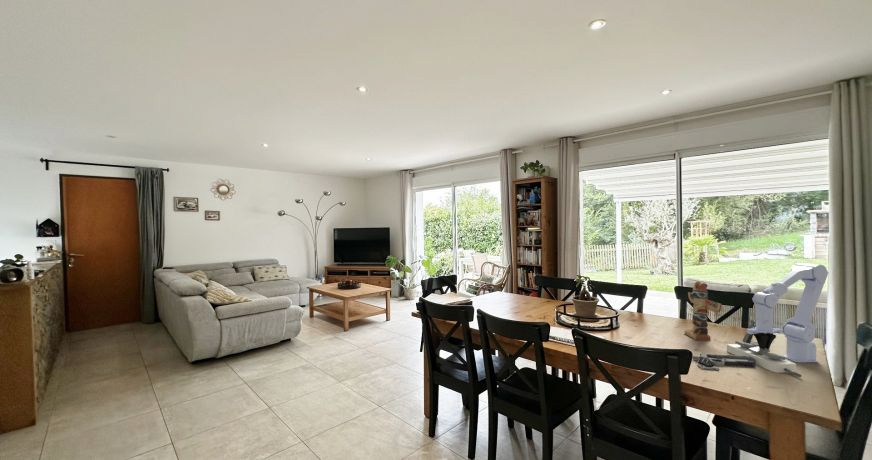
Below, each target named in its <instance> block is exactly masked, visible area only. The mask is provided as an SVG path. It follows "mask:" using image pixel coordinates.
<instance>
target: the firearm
mask: <svg viewBox="0 0 872 460" xmlns="http://www.w3.org/2000/svg"><path fill="white" fill-rule="evenodd" d="M692 359H693V361H697V366H698V367H699V368H700V369H701V370H710V371H714V370H715V371H719V370H720V367H724V366H726V367H746V368H748V367H749V368H755V367H756V364H755V362H756V361H755V360H754V359H753V358H752V357H747V356H737V355H732V354H730V355H727V354H713V353H712V354H711V353H704V352H699V355H692Z"/></svg>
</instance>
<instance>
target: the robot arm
mask: <svg viewBox="0 0 872 460" xmlns="http://www.w3.org/2000/svg"><path fill="white" fill-rule="evenodd" d="M828 275H829V271H828V269H827V267H826V266H825V265H823V264H813V263H807V262H805V263H804V262H801V261H800V262H796V263H795V264H794V265H792V266H791V269H790V271H789V272H788V273H787V274H786V275H785V276H784V277H783V278H782V279H781V280H780V281H774V282H772V283H771V284H769V286H767V287H766V288H764V289H763V290H762V291H758V292H756V293H754V295H753V297H752V298H751V299H752V302H753V303H754V307H755V320H756V321H755V322H756V323H755V325H756V327H755V328H751V329H749V328H746V332H747V333H748V334H753V337H754V338H755V339H756V342H758V345H759V346H758V347H759V348H762V349H766V348H767V349H769V350H770V348H771V345H772V344H773V342H774V340H775V339H776V338H777V335H776V334H780V335H781V334H783V336H784V337H785V338H786V354H781V355H780V356H783V357H785V359H788V360H790V361H792V362H796V363H819V361H818V360H817V346H816V344H815V343H814V342H813V341H814V340H815V338H816V329H817V327H816V326H815V325H814V324H813V323H812V322H811V321H812V318H813V315H814V314H815V310H816V308H817V305H818V302H819V299H820V296H821V294H822V291H823V288H824V285H825V283H826V280H827V278H828ZM798 281H801V282H802V283H804V285H805V286H804V288H803V290H802V294H801V297H800V299H799V302H798V305H797V306H796V310H795V313H794V315H793V316H792V317H790V318H787V319H786V321H785V323H784V324H783V325H782V326H781V328H779V327H774V307H776V306H777V304H778V303H779V299H780V298H781V297H783V296H784V295H785V294H787V293H788V289H789V287H791V286H793V285H794V284H795V283H796V282H798Z"/></svg>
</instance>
